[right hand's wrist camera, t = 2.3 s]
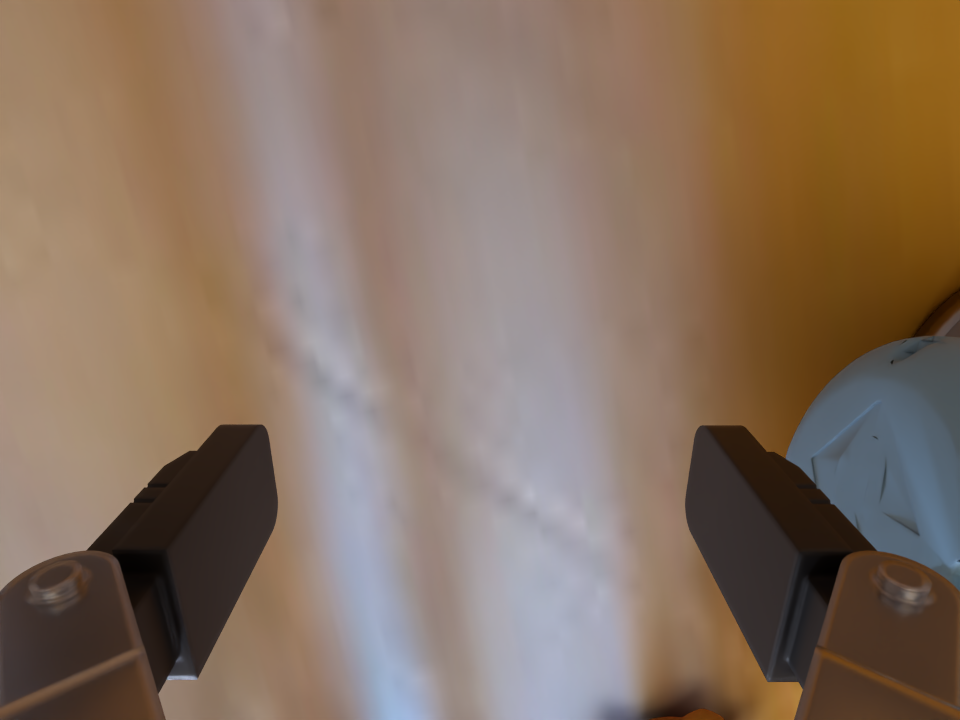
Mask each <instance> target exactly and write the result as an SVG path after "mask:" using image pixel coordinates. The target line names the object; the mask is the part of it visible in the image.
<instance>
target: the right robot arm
mask: <svg viewBox="0 0 960 720" xmlns="http://www.w3.org/2000/svg"><path fill="white" fill-rule="evenodd" d="M277 509H278V497H277V490H276V483H275V476H274V469H273V463H272V456H271V449H270V442H269V436H268V432H267V430H266V428H265V427H264V426H263V425H220V426H218V427H217V428H216V429H215V431H214V432H213V433H212V434H211V435H210V436H209V438H208V439H207V440H206V441H205V442H204V443H203V445H202V446H201V447H200V448H199V449H198V450H197V451H189V452H187V453H185V454H184V455H182V456H180V457H179V458H177V459H175V460H174V461H172V462H170V463H169V464H167V465H165V466H164V467H163V468H162V469H161V470H160V471H159V472H158V473H157V474H156V476H155V477H154V478H153V479H152V480H151V481H150V482H149V483H148V487H147V488H144V489H143V490H142V491H141V492H140V493H139V494H138V495H137V496H136V497H135V498H134V503H130V504H129V505H128V506H127V507H126V508H125V509H124V510H123V511H122V512H121V514H120V515H119V516H118V517H117V518H116V519H115V520H114V521H113V522H112V523H111V524H110V526H109V527H108V528H107V529H106V530H105V531H104V532H103V533H102V534H101V535H100V536H99V537H98V539H97V540H96V541H95V542H94V543H93V544H92V545H91V546H90V547H89V548H88V549H87V550H86V551H79V552H73V553H68V554H64V555H61V556H57V557H54V558H52V559H49V560H46V561H44V562H42V563H39V564H37V565H35V566H33V567H31V568H30V569H28V570H26V571H24V572H23V573H21V574H20V575H18V576H17V577H15V578H14V579H13V580H12V581H11V582H9V583H8V584H7V585H6V586H5V587H4V588H3V589H2V590H1V591H0V720H166V719H165V716H164V712H163V709H162V705H161V702H160V698H159V695H158V694H159V692H160V690H161V688H162V686H163V685H164V683H165V681H166V680H197V679H198V677H199V675H200V673H201V671H202V669H203V667H204V665H205V663H206V661H207V659H208V657H209V655H210V653H211V651H212V649H213V647H214V645H215V643H216V641H217V639H218V637H219V635H220V633H221V631H222V630H223V628H224V626H225V624H226V622H227V620H228V618H229V616H230V614H231V612H232V610H233V608H234V606H235V604H236V602H237V600H238V598H239V596H240V594H241V592H242V590H243V588H244V586H245V584H246V582H247V580H248V578H249V576H250V574H251V573H252V571H253V569H254V567H255V565H256V563H257V561H258V559H259V557H260V555H261V553H262V551H263V549H264V547H265V545H266V543H267V541H268V539H269V537H270V535H271V533H272V531H273V529H274V526H275V522H276V518H277ZM685 509H686V518H687V523H688V527H689V530H690V532H691V534H692V536H693V538H694V540H695V542H696V544H697V546H698V548H699V550H700V552H701V553H702V555H703V557H704V559H705V561H706V563H707V565H708V567H709V569H710V571H711V573H712V575H713V577H714V579H715V581H716V583H717V585H718V586H719V588H720V590H721V592H722V594H723V596H724V598H725V600H726V602H727V604H728V606H729V608H730V610H731V612H732V614H733V616H734V618H735V619H736V621H737V623H738V625H739V627H740V629H741V631H742V633H743V635H744V637H745V639H746V641H747V643H748V645H749V647H750V649H751V651H752V653H753V654H754V656H755V658H756V660H757V662H758V664H759V666H760V668H761V670H762V672H763V674H764V676H765V678H766V680H767V682H799V683H800V685H801V687H802V689H803V692H802V695H801V698H800V702H799V705H798V709H797V712H796V716H795V719H794V720H960V591H959V590H958V589H957V588H956V587H955V586H954V585H953V584H952V583H951V582H949V581H948V580H947V579H946V578H945V577H943V576H942V575H940V574H939V573H937V572H936V571H934V570H932V569H930V568H929V567H927V566H925V565H923V564H921V563H918V562H916V561H914V560H911V559H908V558H906V557H903V556H899V555H896V554H892V553H887V552H881V551H877V550H876V549H875V548H874V547H873V546H872V544H871V543H870V542H869V541H868V540H867V539H866V538H865V537H864V536H863V535H862V534H861V533H860V532H859V530H858V529H857V528H856V527H855V526H854V525H853V524H852V523H851V522H850V521H849V520H848V519H847V518H846V517H845V515H844V514H843V513H842V512H841V511H840V510H839V509H838V508H837V507H836V506H835V505H834V504H831V503H830V499H829V498H828V497H827V496H826V495H825V494H824V493H823V492H822V491H821V490H820V489H817V488H816V484H815V483H814V482H813V481H812V480H811V479H810V478H809V477H808V476H807V475H806V473H805V472H804V471H803V470H802V469H801V468H800V467H798V466H797V465H795V464H793V463H792V462H790V461H788V460H787V459H785V458H783V457H782V456H780V455H778V454H777V453H775V452H766V450H765V449H764V448H763V447H762V446H761V445H760V443H759V442H758V441H757V440H756V439H755V438H754V437H753V435H752V434H751V433H750V432H749V431H748V430H747V429H746V428H745V427H744V426H700V427H699V428H698V429H697V431H696V434H695V438H694V445H693V451H692V458H691V465H690V471H689V478H688V485H687V491H686V499H685Z"/></svg>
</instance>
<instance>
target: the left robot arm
mask: <svg viewBox="0 0 960 720" xmlns="http://www.w3.org/2000/svg"><path fill="white" fill-rule="evenodd" d="M786 459H787V460H788V461H790V462H792V463H793V464H795V465H797V466H798V467H800V468H801V469H802V470H803V471H804V472H805V473H806V475H807V476H808V477H809V478H810V479H811V480H812V481H813V482H814V483H815V484H816V488H817V489H820V490H821V491H822V492H823V493H824V494H825V495H826V496H827V497H828V498H829V499H830V503H831V504H834V505H835V506H836V507H837V508H838V509H839V510H840V511H841V512H842V513H843V514H844V515H845V517H846V518H847V519H848V520H849V521H850V522H851V523H852V524H853V525H854V526H855V527H856V528H857V529H858V530H859V532H860V533H861V534H862V535H863V536H864V537H865V538H866V539H867V540H868V541H869V542H870V543H871V544H872V546H873V547H874V548H875V549H876V550H877V551H881V552H887V553H892V554H896V555H899V556H903V557H906V558H908V559H911V560H914V561H916V562H918V563H921V564H923V565H925V566H927V567H929V568H930V569H932V570H934V571H936V572H937V573H939V574H940V575H942V576H943V577H945V578H946V579H947V580H948V581H949V582H951V583H952V584H953V585H954V586H955V587H956V588H957V589H958V590H959V591H960V290H959V291H958V292H957V293H955V294H954V295H953V296H951V297H950V298H949V299H948V300H947V301H946V302H945V303H943V304H942V305H941V306H940V307H939V308H938V309H937V310H936V311H935V312H934V313H933V314H932V315H931V316H930V317H929V318H928V320H927V321H926V322H925V323H924V324H923V326H922V327H921V328H920V329H919V331H918V332H917V333H916V335H915V336H914V338H907V339H902V340H898V341H894V342H891V343H888V344H885V345H883V346H880V347H878V348H876V349H874V350H871V351H869V352H867V353H866V354H864V355H862V356H861V357H859V358H857V359H856V360H854V361H853V362H851V363H850V364H849V365H847V366H846V367H845V368H844V369H843V370H842V371H840V372H839V373H838V374H837V375H836V376H835V377H834V378H833V379H832V380H831V381H830V382H829V383H828V384H827V385H826V386H825V387H824V388H823V390H822V391H821V392H820V393H819V395H818V396H817V397H816V398H815V400H814V401H813V402H812V404H811V405H810V407H809V408H808V410H807V411H806V413H805V415H804V417H803V418H802V420H801V422H800V424H799V426H798V428H797V430H796V432H795V434H794V436H793V439H792V441H791V443H790V446H789V448H788V451H787V455H786Z"/></svg>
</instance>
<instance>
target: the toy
mask: <svg viewBox="0 0 960 720" xmlns="http://www.w3.org/2000/svg"><path fill="white" fill-rule="evenodd" d="M649 720H725V719H724V718H723V717H722V716H720V715H718V714H716V713H714V712H712V711H710V710H707V709H698V710H695V711H693V712H690V713H688V714H687V715H685V716H684V717H672V716H670V717H659V718H653V719H649Z"/></svg>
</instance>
